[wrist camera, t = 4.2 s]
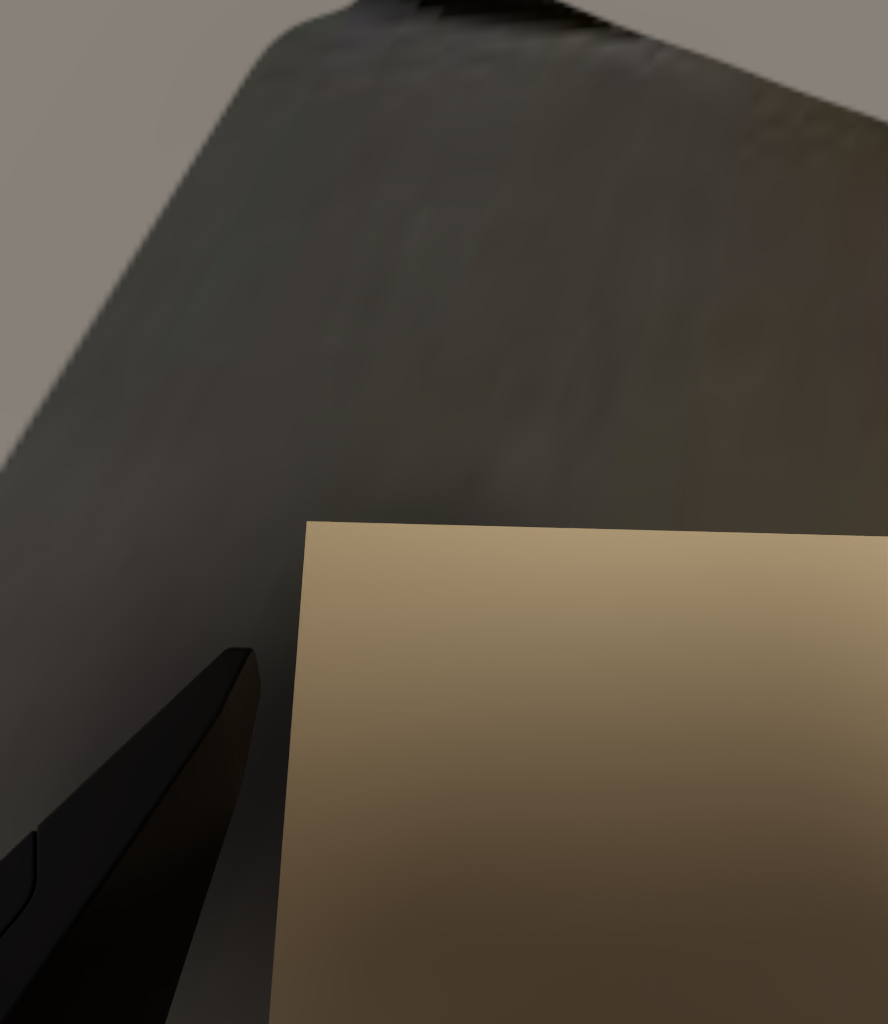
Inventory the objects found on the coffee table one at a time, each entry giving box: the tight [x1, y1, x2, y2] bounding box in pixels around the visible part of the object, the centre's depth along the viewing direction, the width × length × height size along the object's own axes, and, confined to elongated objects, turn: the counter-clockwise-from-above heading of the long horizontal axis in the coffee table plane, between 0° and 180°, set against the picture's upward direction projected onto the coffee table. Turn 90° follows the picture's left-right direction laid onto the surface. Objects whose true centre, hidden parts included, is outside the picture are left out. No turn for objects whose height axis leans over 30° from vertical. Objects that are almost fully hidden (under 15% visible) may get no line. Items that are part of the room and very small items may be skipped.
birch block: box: [269, 521, 888, 1024], centre depth 9 cm, size 5×5×13 cm
